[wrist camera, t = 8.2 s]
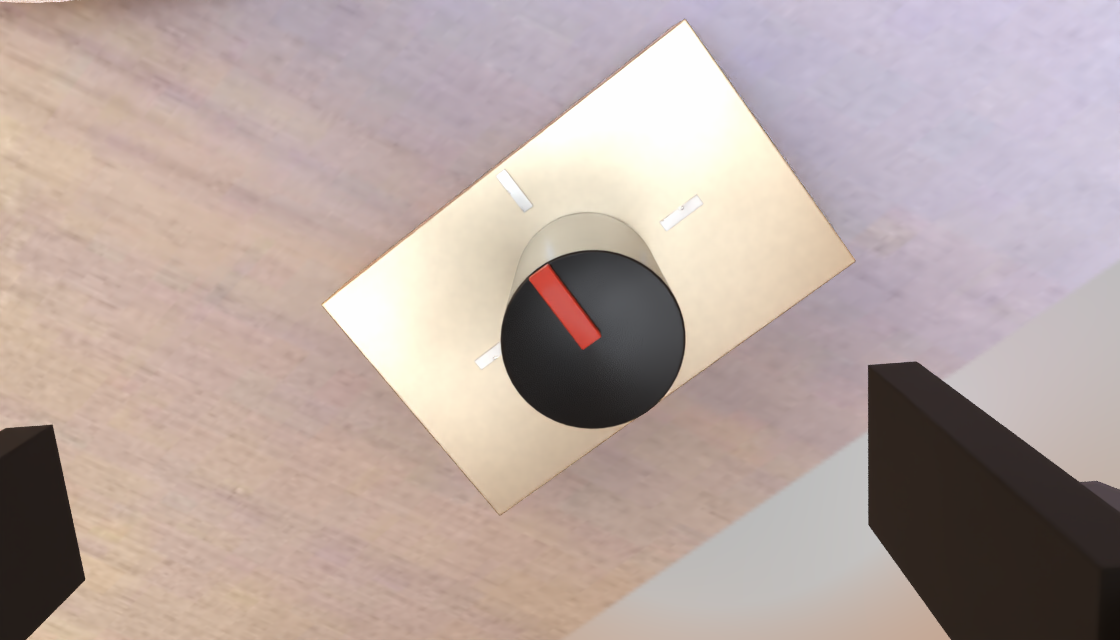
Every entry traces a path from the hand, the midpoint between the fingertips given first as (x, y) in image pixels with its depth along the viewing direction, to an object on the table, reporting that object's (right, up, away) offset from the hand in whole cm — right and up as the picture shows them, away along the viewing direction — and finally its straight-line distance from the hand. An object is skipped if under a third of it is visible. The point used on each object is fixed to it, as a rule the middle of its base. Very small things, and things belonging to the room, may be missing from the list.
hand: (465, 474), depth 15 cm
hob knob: (+2, +4, +14) cm, 15 cm away
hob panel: (+2, +4, +17) cm, 18 cm away
